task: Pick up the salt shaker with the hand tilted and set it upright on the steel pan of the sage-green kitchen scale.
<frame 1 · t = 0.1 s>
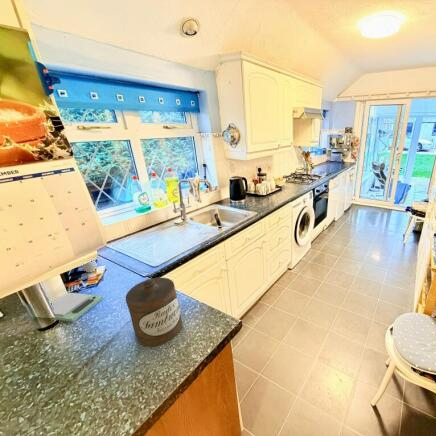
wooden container: (160, 330, 87), on the worktop
kitchen scale: (72, 310, 95), on the worktop
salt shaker: (91, 270, 121), on the worktop
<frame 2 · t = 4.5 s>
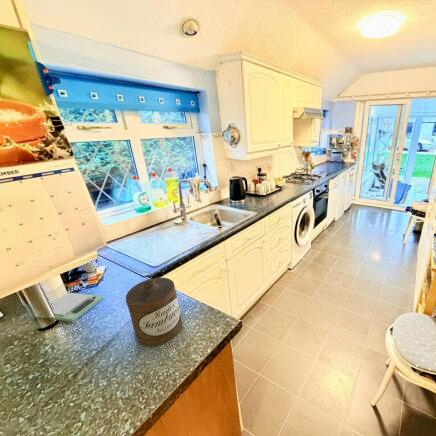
nothing on the worktop moved.
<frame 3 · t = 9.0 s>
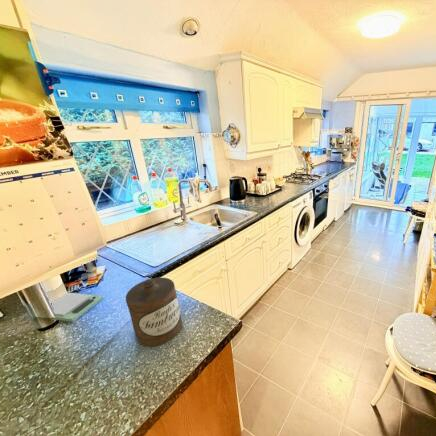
hand: (91, 267, 117), 4 cm above the worktop, tool tilted 45°, fingers closed on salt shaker, 3 cm apart
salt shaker: (91, 270, 121), on the worktop, touching gripper
everything else where it was.
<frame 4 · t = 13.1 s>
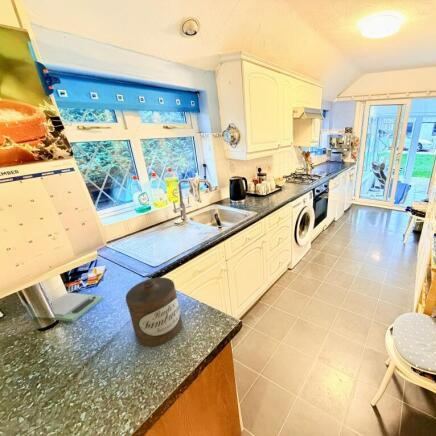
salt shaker: (72, 265, 103), point 12 cm above the worktop, touching gripper
everything else where it was.
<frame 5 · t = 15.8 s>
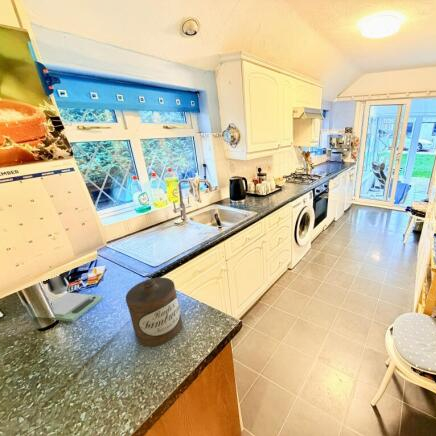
hand: (59, 287, 88), 13 cm above the worktop, tool tilted 45°, fingers closed on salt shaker, 3 cm apart
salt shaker: (61, 291, 92), point 9 cm above the worktop, touching gripper
everything else where it was.
when the fingers open (7 cm above the worktop, at t = 17.6 s): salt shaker stays where it is, resting on kitchen scale.
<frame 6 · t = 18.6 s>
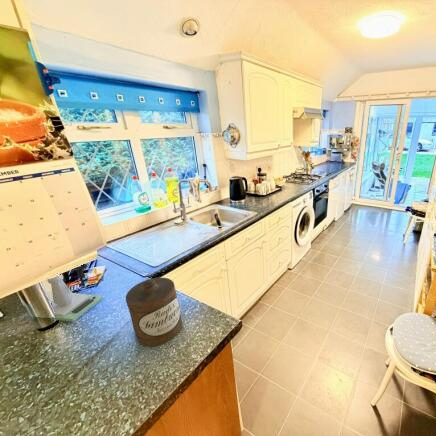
hand: (61, 294, 90), 9 cm above the worktop, tool tilted 45°, fingers open, 13 cm apart
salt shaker: (65, 303, 94), point 3 cm above the worktop, touching kitchen scale
everything else where it was.
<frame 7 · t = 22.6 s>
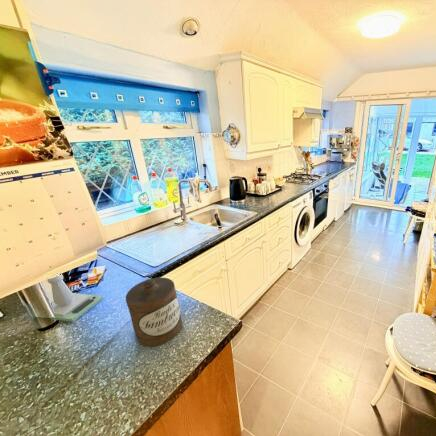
nothing on the worktop moved.
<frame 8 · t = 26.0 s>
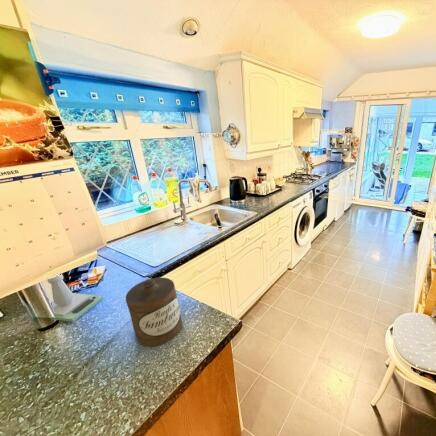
nothing on the worktop moved.
at the end: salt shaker inside the target area on the kitchen scale (0.1 cm from its centre), point 3.4 cm above the kitchen scale's base; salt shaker tilted 0°; the gripper is holding nothing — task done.
